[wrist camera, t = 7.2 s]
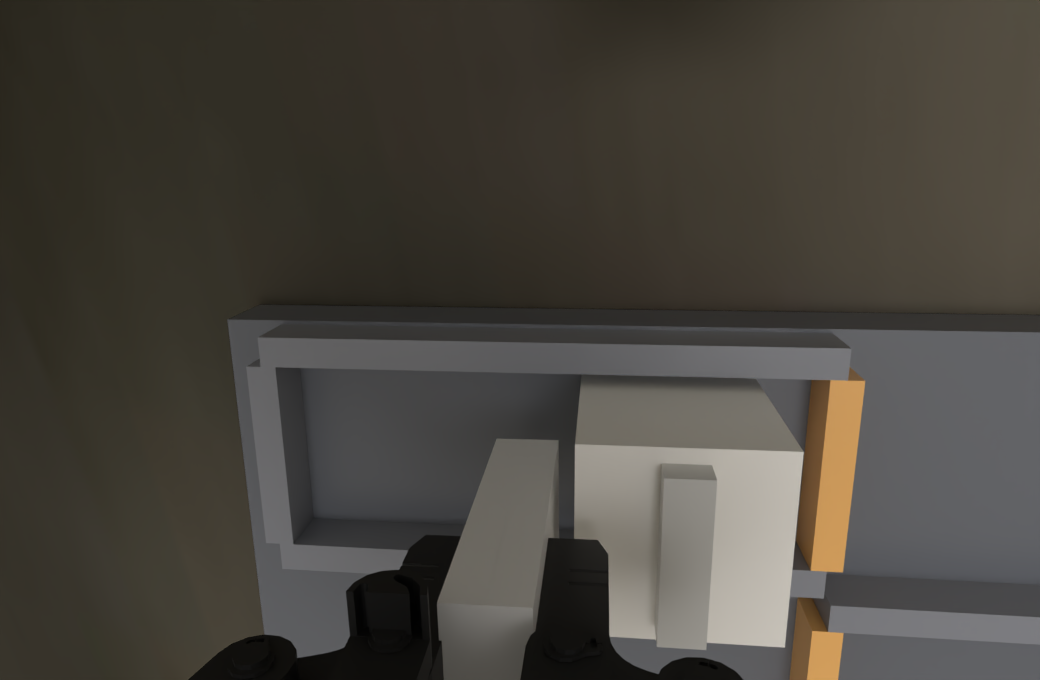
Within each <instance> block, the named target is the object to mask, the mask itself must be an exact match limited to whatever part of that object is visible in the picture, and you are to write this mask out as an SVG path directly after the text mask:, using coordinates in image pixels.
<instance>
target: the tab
mask: <svg viewBox="0 0 1040 680" xmlns="http://www.w3.org/2000/svg"><path fill="white" fill-rule="evenodd" d="M803 455H804V452H803V450H802V448H801V447H800V445H799V444H798V442H797V441H796V439H795V438H794V436H793V435H792V433H791V432H790V430H789V429H788V427H787V426H786V424H785V422H784V421H783V419H782V418H781V416H780V415H779V413H778V412H777V410H776V409H775V407H774V406H773V404H772V403H771V401H770V400H769V398H768V397H767V395H766V393H765V392H764V390H763V389H762V387H761V386H760V384H759V383H758V381H757V380H756V378H715V377H671V376H628V375H585V374H582V375H581V386H580V397H579V407H578V418H577V428H576V439H575V495H574V539H589V540H598V541H599V542H600V544H601V545H602V546H603V548H604V549H605V550H606V552H607V553H608V564H609V636H610V637H623V638H639V639H655V640H656V644H657V647H664V648H680V649H696V650H706V646H707V643H719V644H735V645H751V646H767V647H783V648H785V640H786V630H787V620H788V609H789V599H790V589H791V578H792V568H793V558H794V548H795V537H796V527H797V517H798V506H799V496H800V486H801V476H802V465H803Z"/></svg>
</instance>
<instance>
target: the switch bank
mask: <svg viewBox="0 0 1040 680" xmlns="http://www.w3.org/2000/svg"><path fill="white" fill-rule="evenodd" d="M227 321H228V329H229V338H230V346H231V355H232V363H233V372H234V380H235V389H236V397H237V406H238V414H239V423H240V431H241V440H242V448H243V456H244V465H245V473H246V482H247V490H248V499H249V507H250V516H251V524H252V533H253V541H254V550H255V558H256V567H257V575H258V584H259V592H260V601H261V609H262V618H263V626H264V635H275V636H281V637H283V638H285V639H287V640H289V641H291V642H292V644H293V645H294V647H295V648H296V650H297V658H300V657H306V656H312V655H318V654H324V653H328V652H332V651H336V650H339V649H342V648H344V647H345V645H346V643H347V641H348V639H349V637H350V631H349V620H348V609H347V599H346V591H347V589H348V588H349V587H350V586H351V585H352V584H353V583H354V582H355V581H357V580H359V579H361V578H363V577H364V576H366V575H369V574H372V573H376V572H379V571H386V570H399V569H400V567H401V566H402V563H403V560H404V558H405V556H406V554H407V552H408V550H409V548H410V547H411V546H412V545H414V544H415V543H416V542H417V541H419V540H420V539H421V538H422V537H424V536H425V535H446V536H461V535H462V532H463V530H464V527H465V524H466V521H467V519H468V516H469V513H470V510H471V508H472V505H473V502H474V499H475V497H476V494H477V491H478V488H479V486H480V483H481V480H482V477H483V475H484V472H485V469H486V467H487V464H488V461H489V458H490V456H491V453H492V450H493V447H494V445H495V442H496V439H532V440H559V538H565V539H574V495H575V439H576V428H577V418H578V407H579V397H580V386H581V375H582V374H585V375H628V376H671V377H715V378H756V380H757V381H758V383H759V384H760V386H761V387H762V389H763V390H764V392H765V393H766V395H767V397H768V398H769V400H770V401H771V403H772V404H773V406H774V407H775V409H776V410H777V412H778V413H779V415H780V416H781V418H782V419H783V421H784V422H785V424H786V426H787V427H788V429H789V430H790V432H791V433H792V435H793V436H794V438H795V439H796V441H797V442H798V444H799V445H800V447H801V448H802V450H803V452H804V455H803V465H802V476H801V486H800V496H799V506H798V517H797V527H796V537H795V548H794V558H793V568H792V578H791V589H790V599H789V609H788V620H787V630H786V640H785V648H783V647H767V646H751V645H735V644H719V643H707V646H706V650H696V649H680V648H664V647H657V644H656V640H655V639H639V638H623V637H610V641H611V644H612V646H613V647H614V649H615V651H616V652H617V653H618V654H619V655H620V656H621V657H622V658H623V659H624V660H626V661H627V662H629V663H631V664H632V665H634V666H636V667H639V668H641V669H644V670H646V671H650V672H653V673H656V674H659V672H660V670H661V669H662V668H663V667H664V666H666V665H667V664H668V663H670V662H671V661H674V660H678V659H681V658H685V657H701V658H707V659H711V660H714V661H717V662H721V663H723V664H724V665H726V666H728V667H729V668H731V669H733V670H735V671H736V672H737V673H738V674H739V675H740V676H741V677H742V679H743V680H1040V315H995V314H921V313H846V312H771V311H696V310H621V309H546V308H471V307H396V306H322V305H258V306H256V307H254V308H251V309H249V310H247V311H245V312H243V313H241V314H238V315H236V316H234V317H232V318H230V319H228V320H227Z"/></svg>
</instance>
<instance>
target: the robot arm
mask: <svg viewBox="0 0 1040 680" xmlns="http://www.w3.org/2000/svg"><path fill="white" fill-rule="evenodd" d="M346 599H347V609H348V620H349V631H350V637H349V639H348V641H347V643H346V645H345V647H344V648H342V649H339V650H336V651H332V652H328V653H324V654H318V655H312V656H306V657H300V658H297V650H296V648H295V647H294V645H293V644H292V642H291V641H289V640H287V639H285V638H283V637H281V636H275V635H260V636H254V637H248V638H245V639H243V640H240V641H238V642H235V643H233V644H231V645H229V646H228V647H227V648H225V649H224V650H222V651H221V652H219V653H218V654H217V655H216V656H214V657H213V658H212V659H211V660H210V661H209V662H208V663H207V664H205V665H204V666H203V667H202V668H201V669H200V670H199V671H198V672H196V673H195V674H194V675H193V676H192V677H191V678H190V679H189V680H743V679H742V677H741V676H740V675H739V674H738V673H737V672H736V671H735V670H733V669H731V668H729V667H728V666H726V665H724V664H723V663H721V662H717V661H714V660H711V659H707V658H701V657H685V658H681V659H678V660H674V661H671V662H670V663H668V664H667V665H666V666H664V667H663V668H662V669H661V670H660V672H659V674H656V673H653V672H650V671H646V670H644V669H641V668H639V667H636V666H634V665H632V664H631V663H629V662H627V661H626V660H624V659H623V658H622V657H621V656H620V655H619V654H618V653H617V652H616V651H615V649H614V647H613V646H612V644H611V641H610V636H609V564H608V553H607V552H606V550H605V549H604V548H603V546H602V545H601V544H600V542H599V541H598V540H589V539H565V538H559V440H532V439H496V442H495V445H494V447H493V450H492V453H491V456H490V458H489V461H488V464H487V467H486V469H485V472H484V475H483V477H482V480H481V483H480V486H479V488H478V491H477V494H476V497H475V499H474V502H473V505H472V508H471V510H470V513H469V516H468V519H467V521H466V524H465V527H464V530H463V532H462V535H461V536H446V535H425V536H424V537H422V538H421V539H420V540H419V541H417V542H416V543H415V544H414V545H412V546H411V547H410V548H409V550H408V552H407V554H406V556H405V558H404V560H403V563H402V566H401V567H400V569H399V570H386V571H379V572H376V573H372V574H369V575H366V576H364V577H363V578H361V579H359V580H357V581H355V582H354V583H353V584H352V585H351V586H350V587H349V588H348V589H347V591H346Z"/></svg>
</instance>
